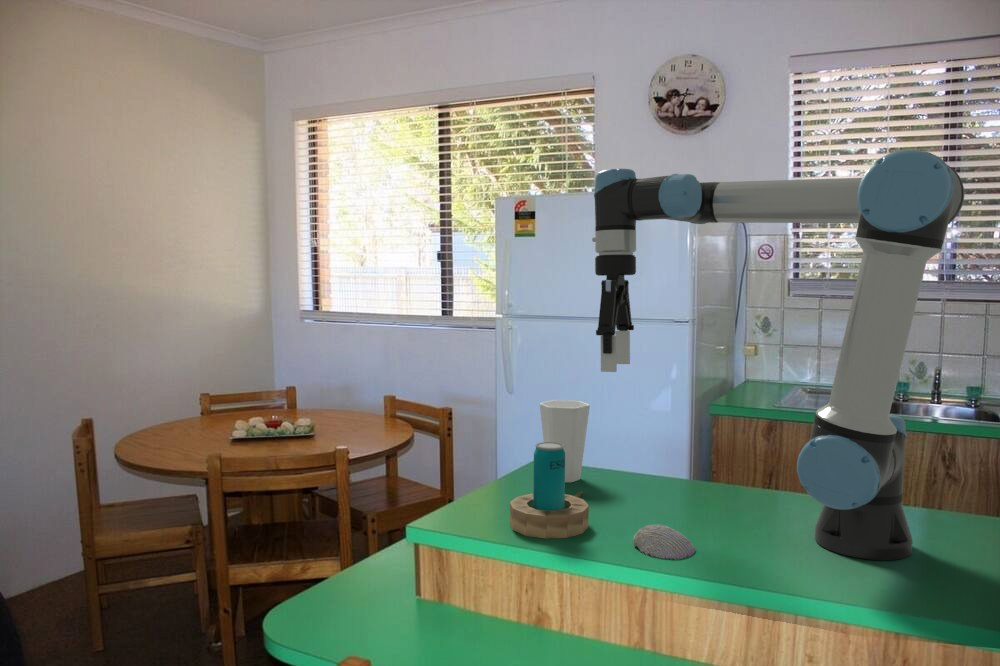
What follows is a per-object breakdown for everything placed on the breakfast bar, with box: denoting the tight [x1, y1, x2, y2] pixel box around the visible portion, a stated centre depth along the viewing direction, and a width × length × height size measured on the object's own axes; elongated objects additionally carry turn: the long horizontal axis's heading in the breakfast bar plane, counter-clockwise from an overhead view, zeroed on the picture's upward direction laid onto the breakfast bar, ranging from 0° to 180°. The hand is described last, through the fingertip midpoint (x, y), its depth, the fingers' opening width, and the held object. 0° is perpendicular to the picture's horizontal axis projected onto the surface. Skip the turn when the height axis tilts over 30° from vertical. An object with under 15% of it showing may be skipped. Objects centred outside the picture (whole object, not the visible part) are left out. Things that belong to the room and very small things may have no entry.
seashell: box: [632, 524, 696, 560], centre depth 130 cm, size 10×6×10 cm
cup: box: [539, 399, 591, 483], centre depth 173 cm, size 11×10×17 cm
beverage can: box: [532, 441, 566, 511], centre depth 141 cm, size 6×6×15 cm
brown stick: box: [573, 491, 583, 499], centre depth 155 cm, size 1×14×1 cm, turn 159°
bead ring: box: [509, 492, 590, 540], centre depth 142 cm, size 14×14×4 cm
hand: (616, 367), depth 145 cm, fingers open, 13 cm apart
